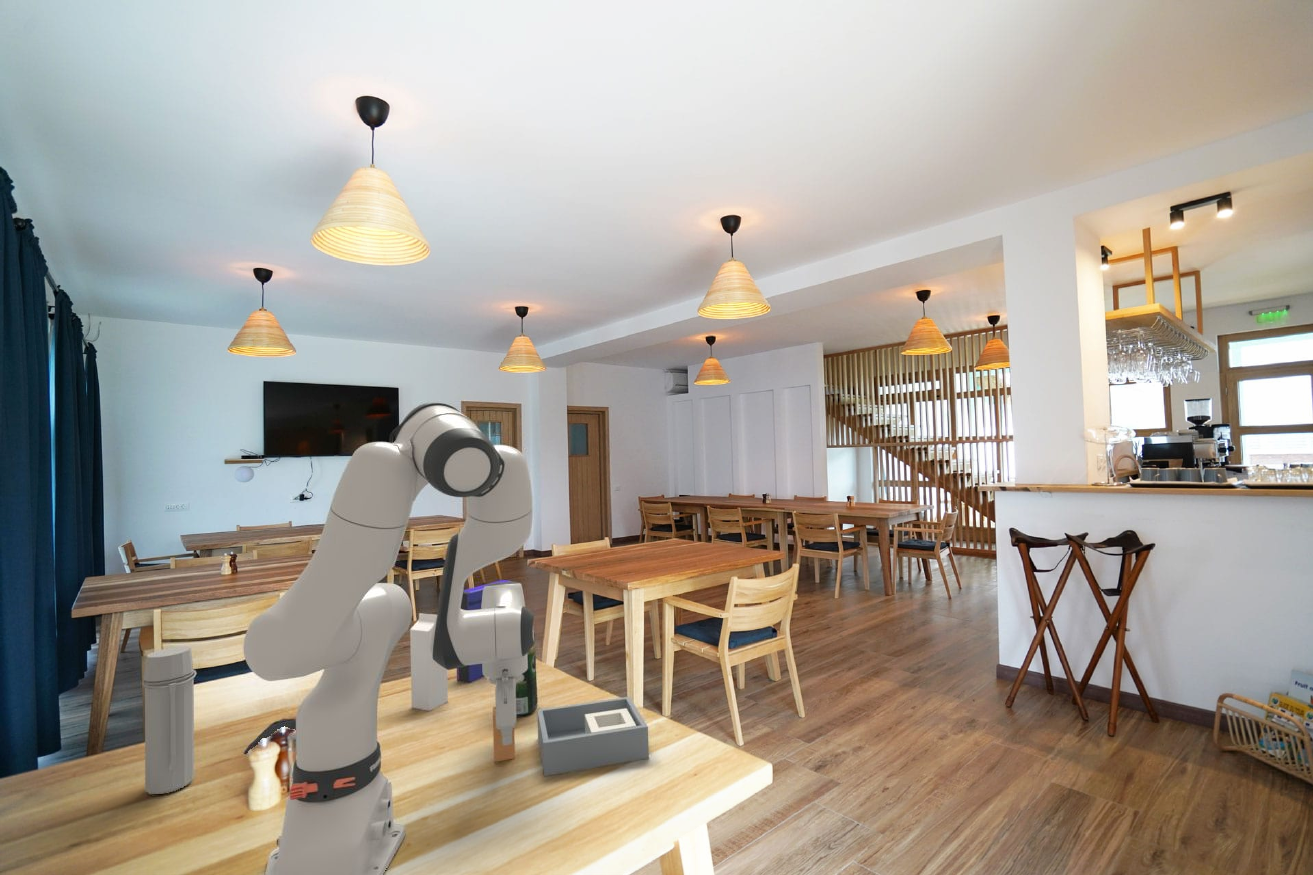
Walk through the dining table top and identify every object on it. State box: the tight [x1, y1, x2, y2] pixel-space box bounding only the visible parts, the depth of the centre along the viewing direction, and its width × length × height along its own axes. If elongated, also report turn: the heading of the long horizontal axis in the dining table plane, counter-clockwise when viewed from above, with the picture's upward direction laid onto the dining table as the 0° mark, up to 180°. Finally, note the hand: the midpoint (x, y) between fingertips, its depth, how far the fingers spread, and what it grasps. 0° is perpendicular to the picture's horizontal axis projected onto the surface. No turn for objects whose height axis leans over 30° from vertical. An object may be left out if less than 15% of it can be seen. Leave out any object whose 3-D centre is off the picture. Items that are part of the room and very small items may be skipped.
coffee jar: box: [516, 632, 538, 718], centre depth 143 cm, size 10×8×19 cm
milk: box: [409, 612, 449, 712], centre depth 148 cm, size 6×6×22 cm
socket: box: [585, 708, 636, 734], centre depth 123 cm, size 9×9×4 cm
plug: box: [492, 706, 516, 763], centre depth 120 cm, size 4×4×10 cm
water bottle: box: [141, 646, 197, 795], centre depth 112 cm, size 9×8×25 cm
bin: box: [536, 696, 650, 777], centre depth 122 cm, size 16×20×6 cm
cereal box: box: [456, 579, 512, 684], centre depth 170 cm, size 17×5×24 cm, turn 150°
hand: (507, 732), depth 120 cm, fingers open, 8 cm apart
